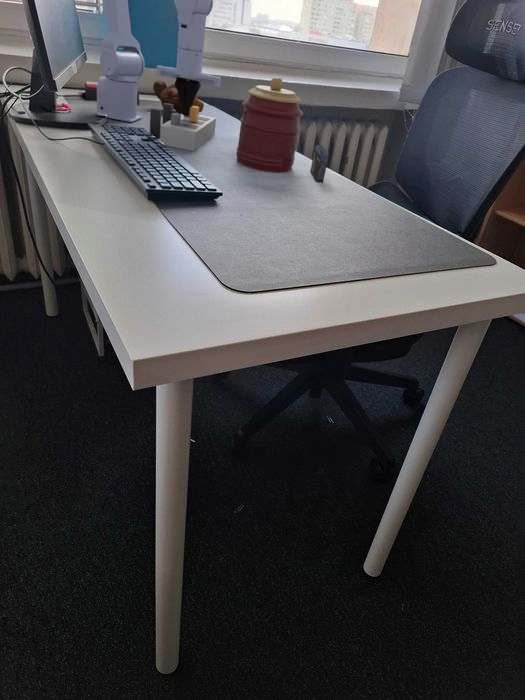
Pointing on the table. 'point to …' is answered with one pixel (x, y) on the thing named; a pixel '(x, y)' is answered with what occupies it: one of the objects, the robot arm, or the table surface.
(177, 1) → the robot arm
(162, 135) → the breaker panel
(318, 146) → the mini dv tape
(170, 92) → the decorative turtle
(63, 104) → the fitness band
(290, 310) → the table surface
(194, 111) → the block
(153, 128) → the disc
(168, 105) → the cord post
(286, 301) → the table surface
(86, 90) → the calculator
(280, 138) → the canister
